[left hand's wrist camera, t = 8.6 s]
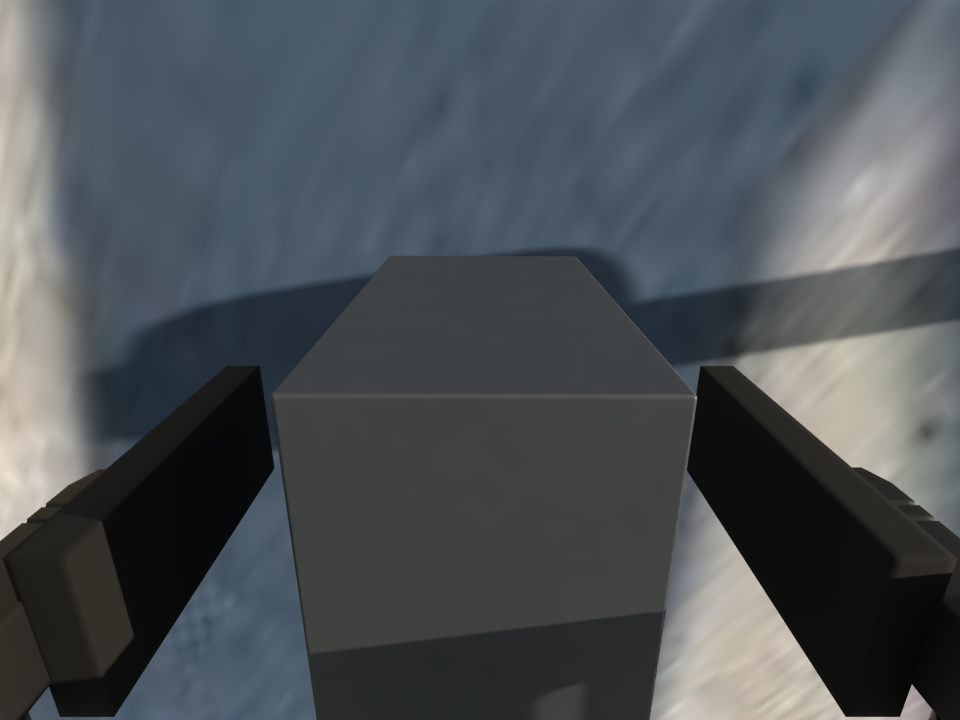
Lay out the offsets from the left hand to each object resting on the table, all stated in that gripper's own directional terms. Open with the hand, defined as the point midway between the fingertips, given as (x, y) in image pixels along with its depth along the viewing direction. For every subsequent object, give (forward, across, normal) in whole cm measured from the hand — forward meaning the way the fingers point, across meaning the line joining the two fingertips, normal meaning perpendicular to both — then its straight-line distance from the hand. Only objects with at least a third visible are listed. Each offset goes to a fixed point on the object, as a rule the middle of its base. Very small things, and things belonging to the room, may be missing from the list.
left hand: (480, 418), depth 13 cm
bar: (+2, 0, -7) cm, 7 cm away
